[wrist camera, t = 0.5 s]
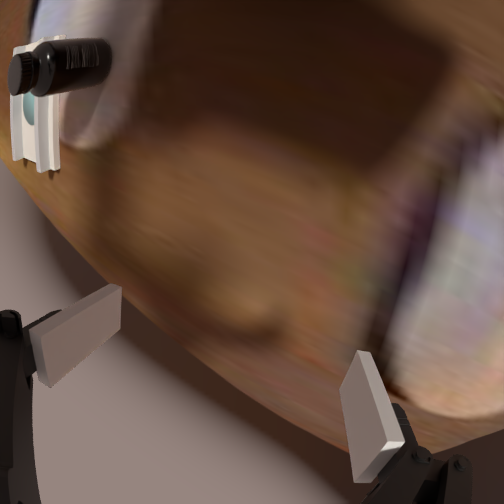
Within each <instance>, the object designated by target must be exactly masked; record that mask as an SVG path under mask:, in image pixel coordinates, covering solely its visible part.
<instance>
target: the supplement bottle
mask: <svg viewBox="0 0 504 504" xmlns="http://www.w3.org/2000/svg"><path fill="white" fill-rule="evenodd" d="M110 65H111V50H110V47H109V45H108V43H107V42H106V41H105V40H103V39H101V38H76V39H61V40H50V41H45V42H42V43H40V44H39V45H38V46H37V47H36V48H35V49H34V50H33V51H27V52H25V53H19V54H16V55H14V57H13V58H12V59H11V62H10V65H9V69H8V88H9V92H10V94H11V95H12V96H17V95H21V94H27V93H29V92H30V93H31V94H32V95H34V96H36V97H39V98H41V97H46V96H51V95H55V94H59V93H64V92H69V91H74V90H79V89H85V88H90V87H95V86H97V85H99V84H100V83H101V82H102V81H103V80H104V79H105V77H106V76H107V74H108V72H109V69H110Z"/></svg>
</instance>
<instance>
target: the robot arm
mask: <svg viewBox="0 0 504 504" xmlns="http://www.w3.org/2000/svg"><path fill="white" fill-rule="evenodd" d="M121 295H122V287H121V286H118V285H115V284H112V283H110V284H109V285H107V286H105V287H103V288H101V289H99V290H98V291H96V292H94V293H92V294H91V295H89V296H87V297H85V298H83V299H81V300H80V301H78V302H76V303H74V304H72V305H71V306H69V307H67V308H65V309H64V310H56V311H53V312H50V313H48V314H46V315H45V316H43V317H41V318H40V319H39V320H36V321H34V322H32V323H31V324H29V325H27V326H25V327H24V328H22V322H21V315H20V314H19V313H18V312H17V311H15V310H3V311H0V504H41V500H40V495H39V489H38V484H37V476H36V468H35V459H34V446H33V427H32V394H33V393H32V392H33V377H32V374H33V373H34V372H35V371H37V374H38V378H39V381H41V382H42V383H43V384H45V385H47V386H48V387H49V388H51V387H52V386H54V384H56V383H57V382H58V381H59V380H61V379H62V378H63V377H64V376H65V375H66V374H67V373H69V372H70V371H71V370H72V369H73V368H74V367H76V366H77V365H78V364H79V363H80V362H81V361H83V360H84V359H85V358H86V357H87V356H89V355H90V354H91V353H92V352H93V351H94V350H96V349H97V348H98V347H99V346H100V345H102V344H103V343H104V342H105V341H106V340H107V339H109V338H110V337H111V336H112V335H113V334H114V333H116V332H117V331H118V330H119V329H120V317H121V316H120V315H121ZM339 392H340V398H341V403H342V409H343V415H344V420H345V426H346V432H347V438H348V445H349V451H350V458H351V465H352V472H353V479H354V483H371V482H372V480H373V479H374V478H375V477H376V476H377V475H378V479H379V483H378V484H377V485H376V486H375V487H374V488H373V489H372V490H371V491H370V492H369V493H368V494H367V497H366V498H365V499H364V500H363V502H361V504H411V503H412V504H471V496H472V464H471V462H470V461H469V459H468V458H466V457H465V456H463V455H459V454H456V455H453V456H451V457H450V458H449V460H448V461H447V462H445V461H440V460H435V459H433V456H432V454H431V453H430V451H429V450H427V449H426V448H424V447H421V446H418V443H417V441H416V438H415V436H414V433H413V431H412V428H411V426H410V423H409V421H408V420H407V416H406V414H405V411H404V410H403V409H402V408H401V407H400V405H399V404H396V403H391V402H390V400H389V397H388V395H387V392H386V390H385V387H384V385H383V382H382V380H381V377H380V375H379V373H378V370H377V368H376V365H375V363H374V361H373V358H372V356H371V354H370V352H364V351H359V350H357V352H356V354H355V357H354V359H353V361H352V363H351V366H350V368H349V370H348V372H347V374H346V376H345V379H344V381H343V383H342V385H341V387H340V389H339Z"/></svg>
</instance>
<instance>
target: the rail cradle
mask: <svg viewBox="0 0 504 504" xmlns="http://www.w3.org/2000/svg"><path fill="white" fill-rule="evenodd" d="M65 38H66V35H58V36H53V37H43V38H40V39H39V41H38V42H35V43H32V44H29V45H26V46H20V47H16V48H14V51H13V57H14V55H16V54H19V53H25V52H27V51H33V50H34V49H35V48H36V47H37V46H38V45H39V44H40V43H42V42H45V41H50V40H61V39H65ZM59 97H60V93H59V94H55V95H51V96H46V97H41V98H39V97H36V96H34V95H32V94H31V93H30V92H29V93H27V94H21V95H17V96H12V95H11V94H10V121H11V141H12V154H13V160H15V161H17V160H19V159H22V158H26V159H28V160H31V161H33V162H35V163H36V165H37V171H38V172H40V173H42V172H45V171H47V170H49V169H52V170H54V171H55V170H58V169H60V154H59Z"/></svg>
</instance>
